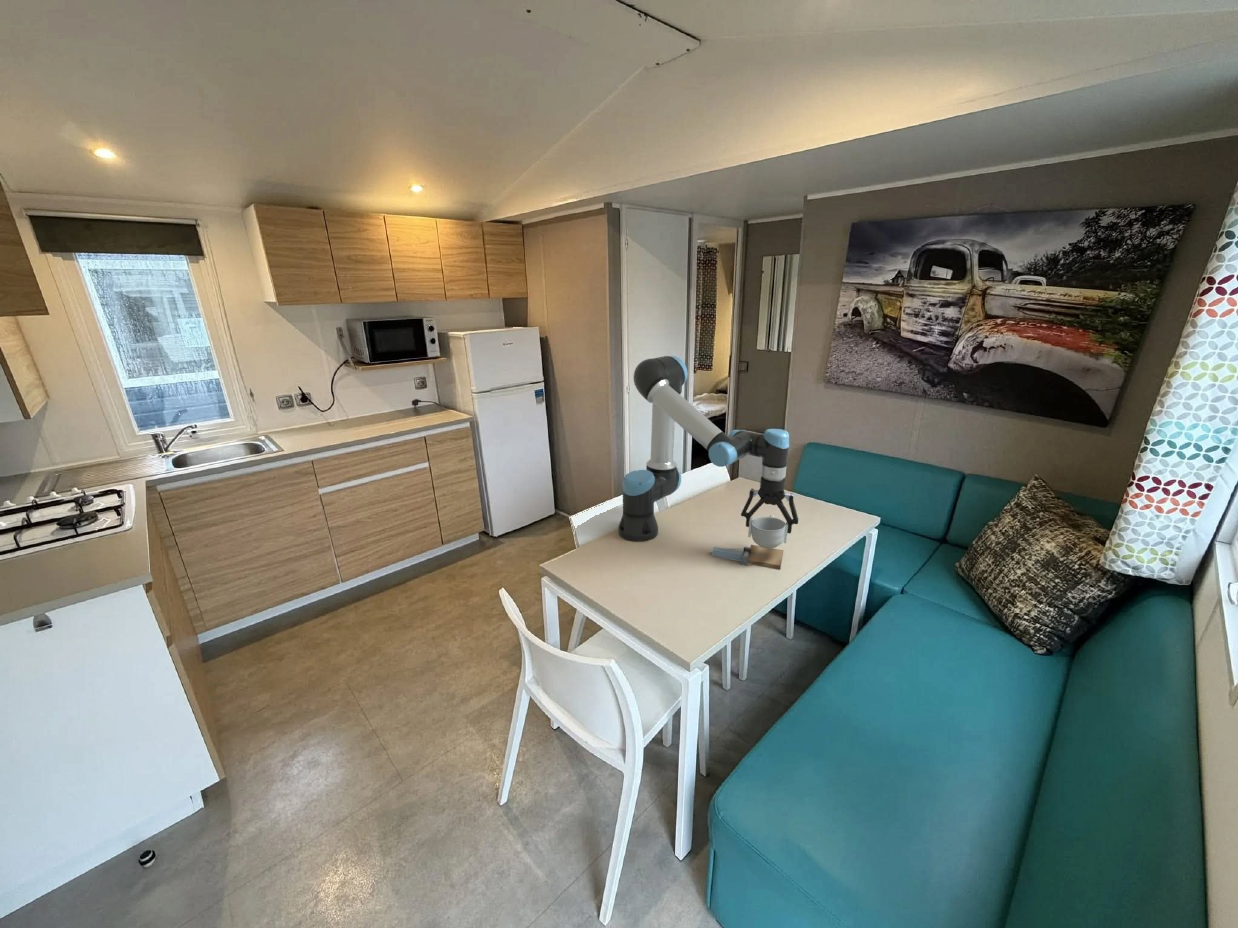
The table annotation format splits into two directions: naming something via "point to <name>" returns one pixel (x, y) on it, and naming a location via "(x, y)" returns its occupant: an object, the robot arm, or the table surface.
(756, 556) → the board
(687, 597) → the table surface
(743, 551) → the hinge cheek
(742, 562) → the hinge cheek
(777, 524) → the teacup
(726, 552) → the leg
